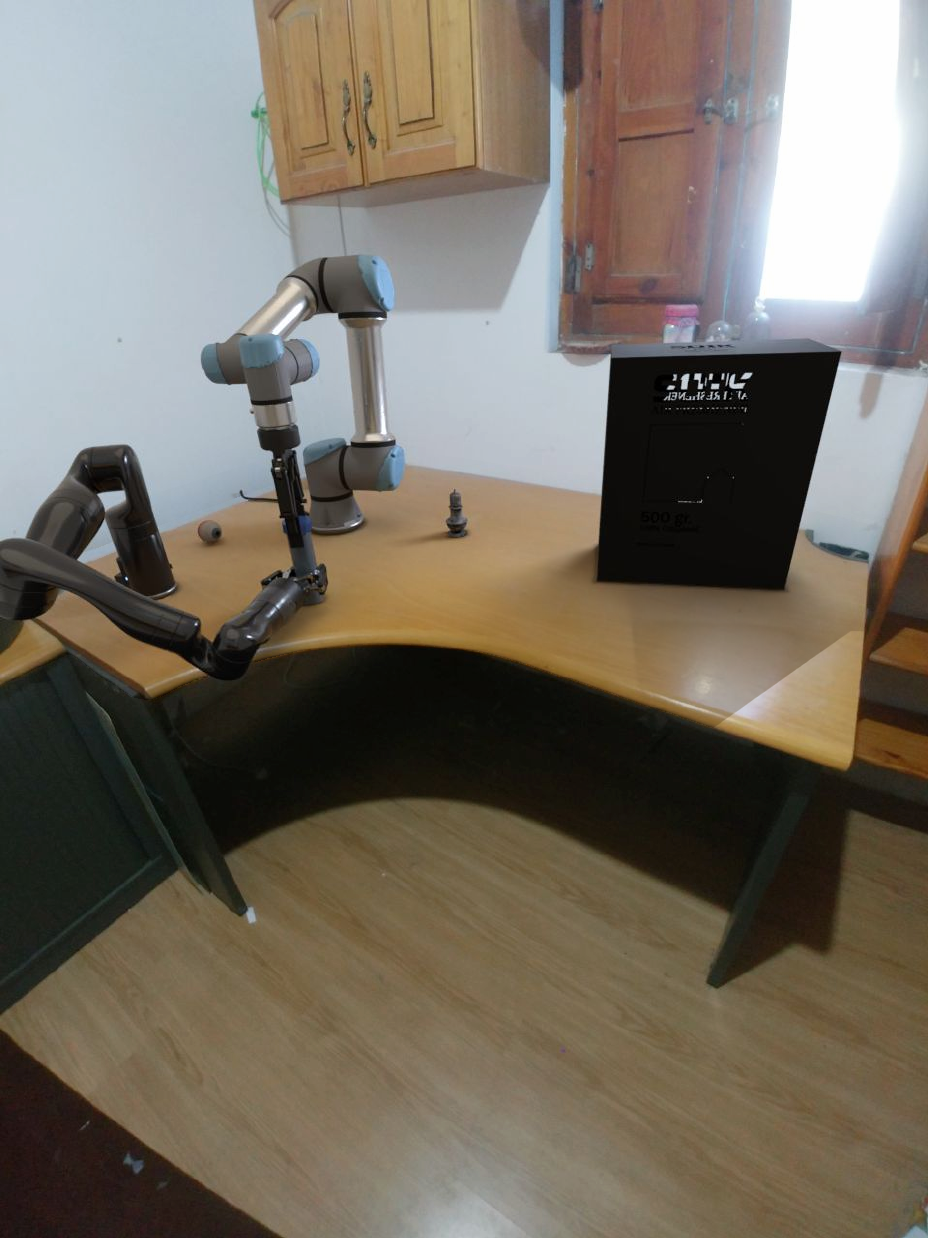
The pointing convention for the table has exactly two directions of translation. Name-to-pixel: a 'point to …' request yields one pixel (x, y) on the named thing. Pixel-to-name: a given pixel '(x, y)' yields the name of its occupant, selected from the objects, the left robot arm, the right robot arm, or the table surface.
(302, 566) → the jar
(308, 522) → the lid
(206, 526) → the eyeball
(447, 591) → the table surface
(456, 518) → the salt shaker
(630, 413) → the cardboard box
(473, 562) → the table surface
